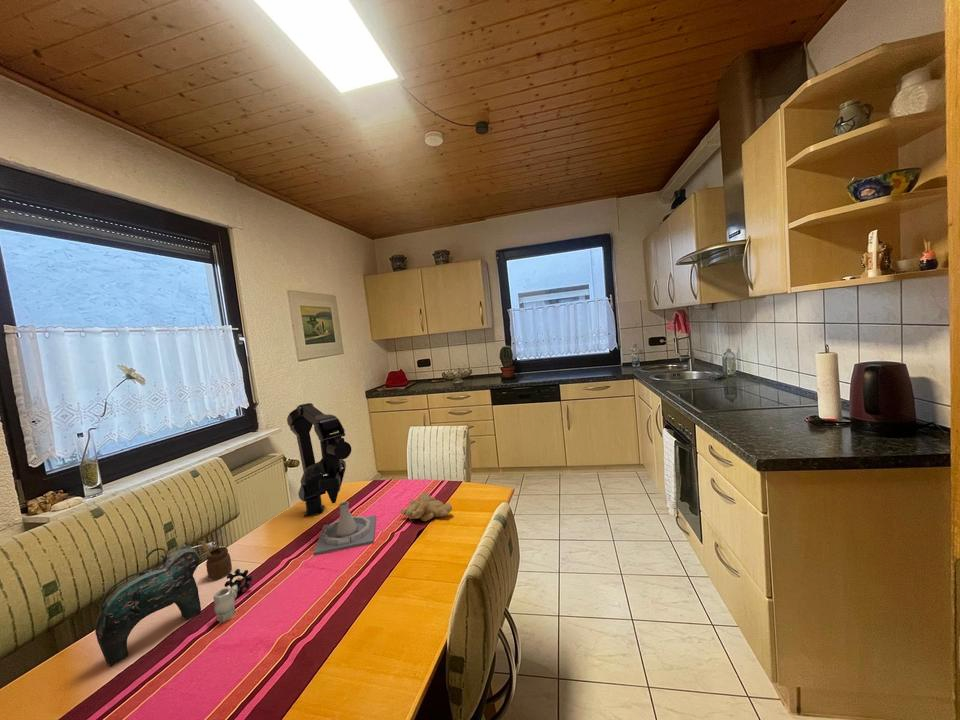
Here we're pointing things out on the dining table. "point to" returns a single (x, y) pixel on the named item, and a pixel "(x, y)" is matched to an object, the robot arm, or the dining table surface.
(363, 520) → the stone ring
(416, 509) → the ginger root
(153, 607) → the green animal figurine
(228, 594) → the valve
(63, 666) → the dining table surface
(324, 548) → the rubber mat
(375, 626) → the dining table surface
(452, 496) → the dining table surface
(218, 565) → the utensil holder
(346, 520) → the flask
